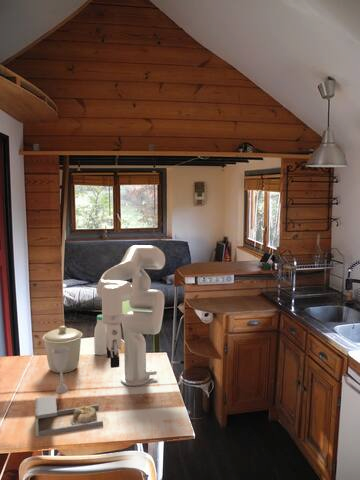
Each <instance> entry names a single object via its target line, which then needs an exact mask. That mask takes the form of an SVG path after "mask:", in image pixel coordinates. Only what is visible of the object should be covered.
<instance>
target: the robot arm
mask: <svg viewBox="0 0 360 480" xmlns="http://www.w3.org/2000/svg"><path fill="white" fill-rule="evenodd" d="M165 265H166V257H165V253H164V251H162V250H161V249H160V248H159V247H157V246H155V245H144V244H142V245H141V244H140V245H137V244H135V245H131V246H130V247H128V249H127V250H126V251H125V254H124V256H123V258H122V259H121V262H120V263H118V264H116V265H114V266H113V267H110V268H109V269H107V270H106V271H104V273H102V275H101V277H100V279H99V280H98V283H97V286H96V295H97V297H98V298H100V299H101V315H102V323H103V324H105V335H106V344H107V347H108V348H107V354H106V358H107V359H109V360H110V369H114V368H119V367H120V351H121V350H122V349H123V348H124V350H123V351H124V374H122V376H121V381H120V382H122V384H124V385H126V386H128V387H129V386H131V387H136V386H137V387H138V386H143V385H145V384H148V382H149V381H150V377H151V376H154V375H157V373H158V372H157V370H156V369H155V370H153V368H149V369H148V368H147V349H146V348H147V344H146V343H147V342H146V339H145V337H144V335H157V334H159V333H160V331H161V329H162V325H163V324H162V323H163V317H164V310H165V309H164V308H165V294H164V292H163V291H162V290H160V289H151V283H152V281H151V278H150V276H149V274H148V273H147V271H146V270H162V269H163V268H164V267H165ZM131 279H132V281H131V282H130V281H127V280H131ZM126 301H128V305H129V307H130V308H131V309H133V310H134V311H133V310H131V311H127V312H125V313H123V302H126ZM137 310H138V311H137ZM121 326H122V327H121ZM122 333H123V341H124V343H122ZM122 345H124V346H122ZM119 350H120V351H119Z"/></svg>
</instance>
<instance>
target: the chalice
mask: <svg viewBox="0 0 360 480" xmlns="http://www.w3.org/2000/svg"><path fill="white" fill-rule="evenodd" d="M68 350H69V348H68V347H57V348H54V349H53V350H52V352H53V358H54V364H55V366H56V368H57V370H58V371H60V373H59V381H60V383H59V384H58V385H57V387H56V388H55V392H56V393H58V394H64V393H66V392H68V390H69V388H68V386H67V384H65V383H64V382H63V381H64V378H63V377H64V373H62V371H64V370H65V367H66V365H67V362H68Z"/></svg>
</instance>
